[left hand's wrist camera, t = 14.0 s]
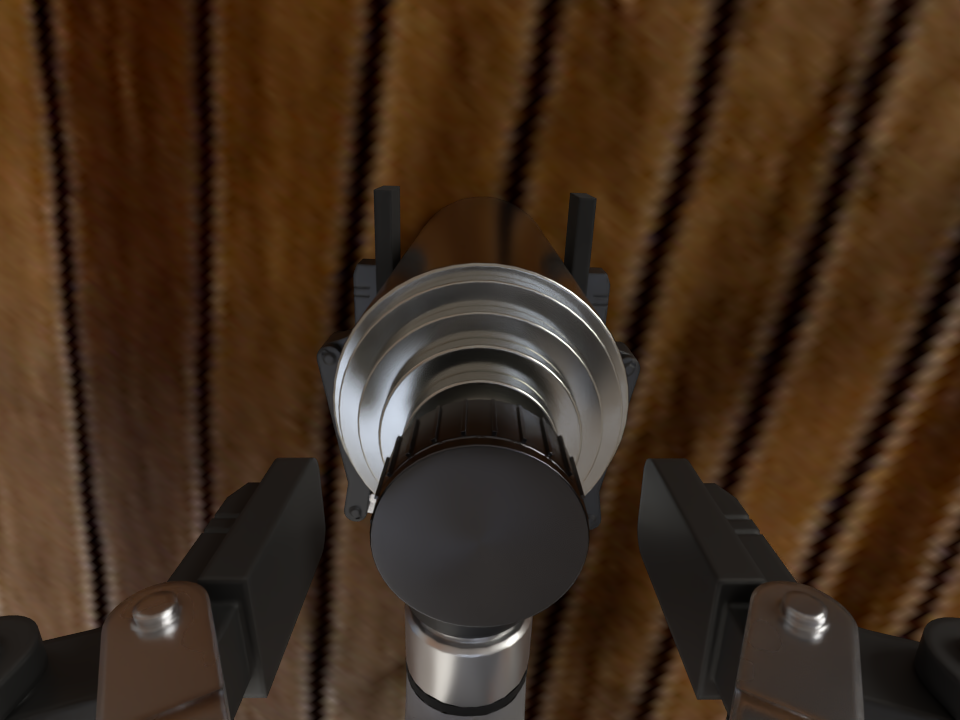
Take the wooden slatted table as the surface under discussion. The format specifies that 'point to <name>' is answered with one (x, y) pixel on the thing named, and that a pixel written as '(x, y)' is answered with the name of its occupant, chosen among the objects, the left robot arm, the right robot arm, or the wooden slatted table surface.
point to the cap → (479, 515)
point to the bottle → (480, 341)
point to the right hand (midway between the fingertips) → (485, 192)
